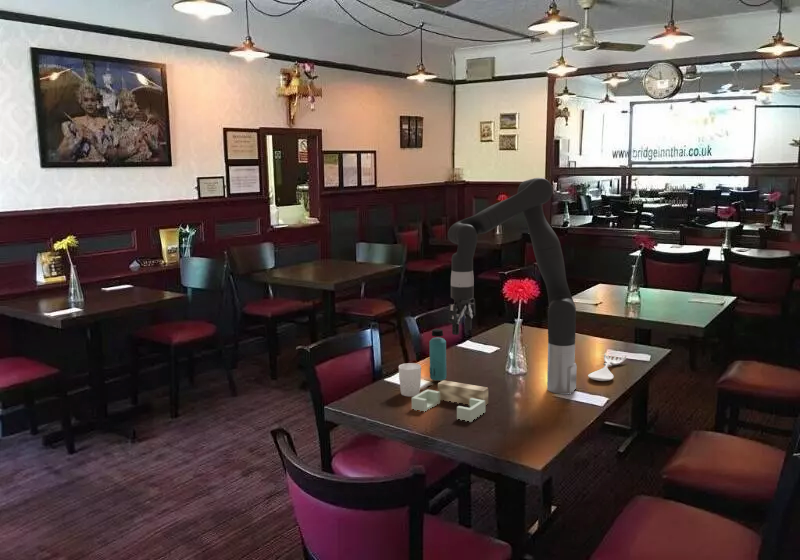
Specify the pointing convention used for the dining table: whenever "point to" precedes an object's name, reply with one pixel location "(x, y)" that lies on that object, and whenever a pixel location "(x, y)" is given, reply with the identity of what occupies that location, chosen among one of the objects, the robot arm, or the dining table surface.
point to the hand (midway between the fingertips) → (462, 331)
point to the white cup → (410, 379)
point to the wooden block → (461, 392)
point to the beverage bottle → (438, 356)
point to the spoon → (606, 369)
